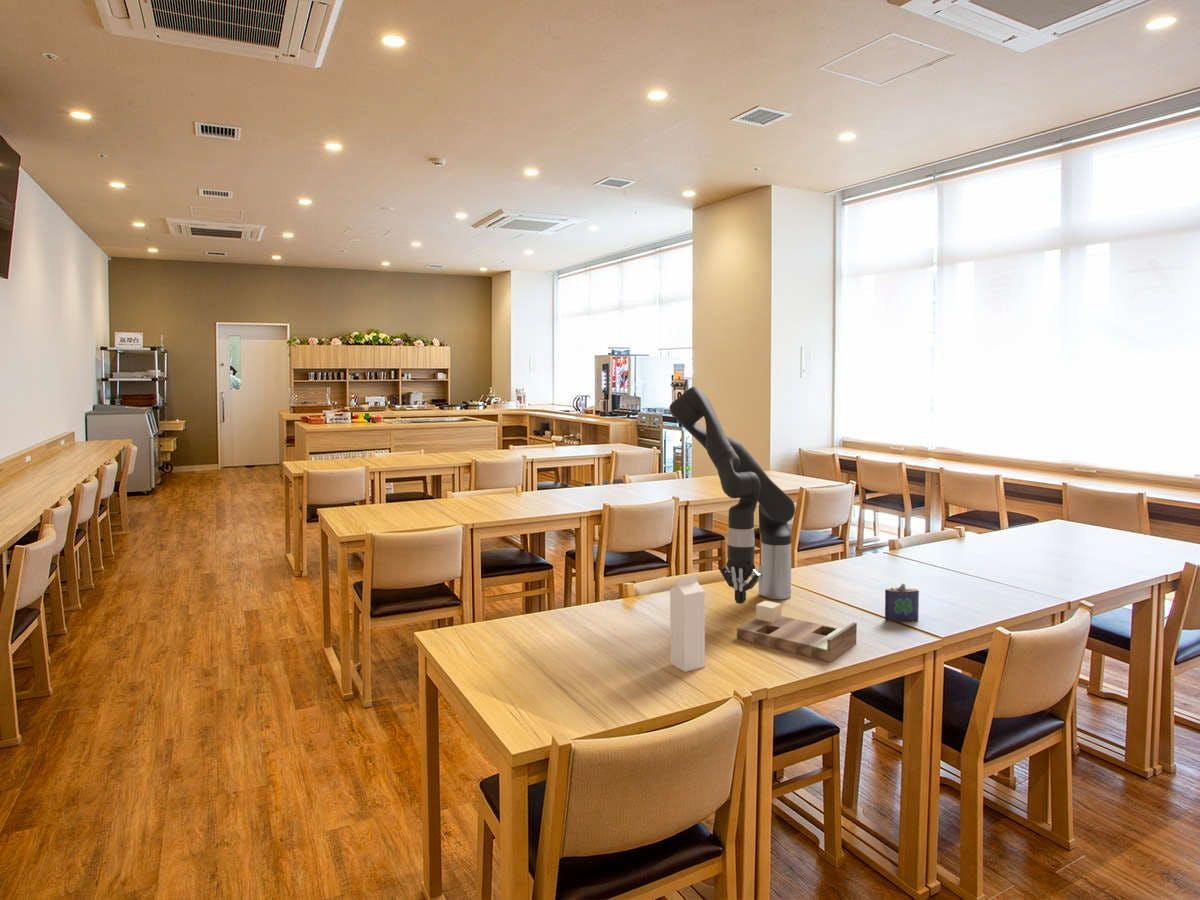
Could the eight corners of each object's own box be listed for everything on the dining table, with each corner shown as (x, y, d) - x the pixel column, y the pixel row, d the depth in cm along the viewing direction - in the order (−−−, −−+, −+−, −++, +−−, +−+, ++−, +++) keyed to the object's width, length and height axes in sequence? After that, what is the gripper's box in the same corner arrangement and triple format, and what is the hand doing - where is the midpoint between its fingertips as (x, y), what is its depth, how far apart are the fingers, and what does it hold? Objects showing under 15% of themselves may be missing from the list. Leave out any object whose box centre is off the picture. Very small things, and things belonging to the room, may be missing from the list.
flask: (916, 618, 208) (917, 582, 207) (920, 622, 205) (921, 585, 204) (883, 619, 209) (884, 582, 208) (887, 622, 206) (887, 585, 205)
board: (736, 638, 195) (736, 618, 195) (766, 622, 207) (766, 604, 207) (830, 662, 178) (830, 640, 178) (856, 643, 190) (856, 622, 190)
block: (756, 619, 202) (756, 604, 201) (765, 614, 206) (765, 600, 205) (772, 622, 199) (772, 608, 198) (781, 617, 202) (781, 603, 202)
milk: (705, 667, 177) (705, 578, 175) (684, 672, 174) (684, 582, 172) (690, 659, 182) (690, 572, 180) (670, 663, 179) (669, 575, 177)
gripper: (713, 541, 207) (713, 601, 209) (754, 548, 199) (753, 611, 200) (728, 537, 213) (727, 595, 215) (768, 544, 204) (767, 604, 206)
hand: (740, 602), depth 207 cm, fingers closed
